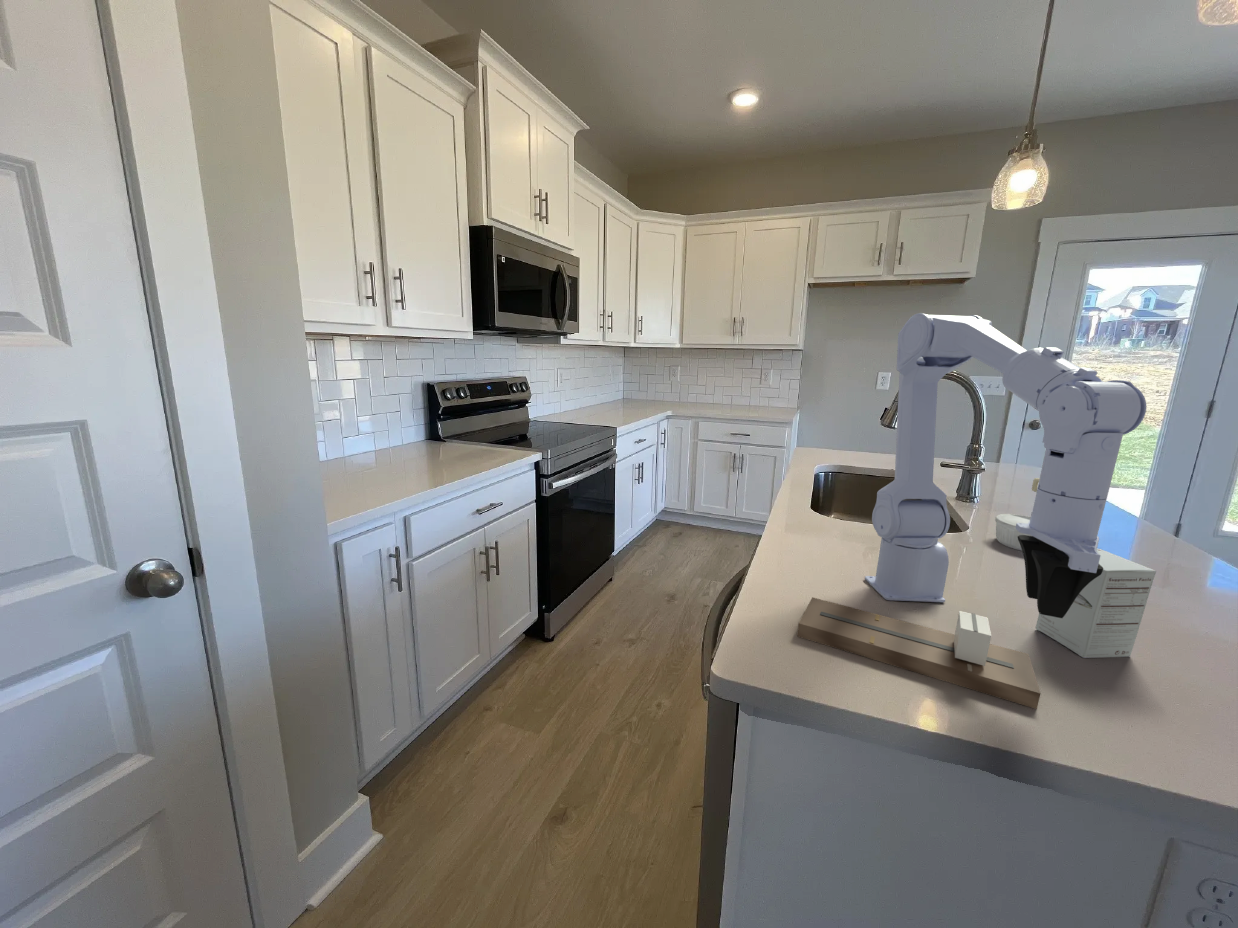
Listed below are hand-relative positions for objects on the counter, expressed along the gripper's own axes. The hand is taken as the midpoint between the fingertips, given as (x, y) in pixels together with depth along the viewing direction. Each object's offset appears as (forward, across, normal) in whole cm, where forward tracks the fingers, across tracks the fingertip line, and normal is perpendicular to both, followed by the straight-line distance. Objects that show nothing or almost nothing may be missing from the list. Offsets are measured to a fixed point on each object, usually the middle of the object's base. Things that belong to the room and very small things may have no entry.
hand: (1044, 606), depth 58 cm
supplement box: (+11, -16, +10) cm, 21 cm away
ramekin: (+11, -58, +13) cm, 61 cm away
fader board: (+10, -2, -12) cm, 16 cm away
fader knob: (+8, -1, -6) cm, 10 cm away
